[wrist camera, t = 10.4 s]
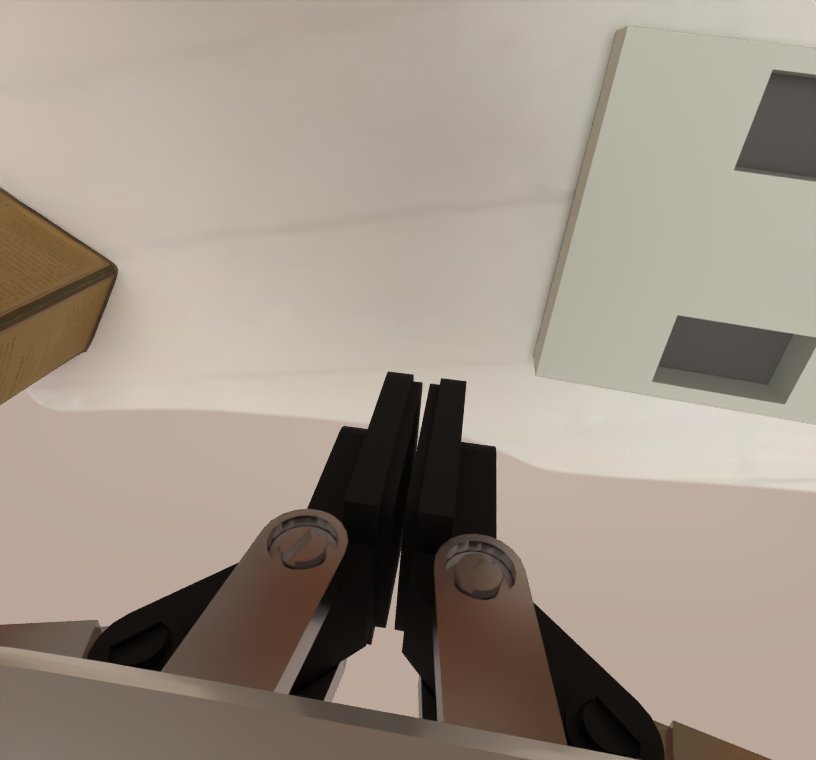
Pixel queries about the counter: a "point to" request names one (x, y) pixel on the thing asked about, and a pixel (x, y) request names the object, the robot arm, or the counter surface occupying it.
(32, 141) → the counter surface
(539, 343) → the board
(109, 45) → the counter surface
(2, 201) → the food packaging
